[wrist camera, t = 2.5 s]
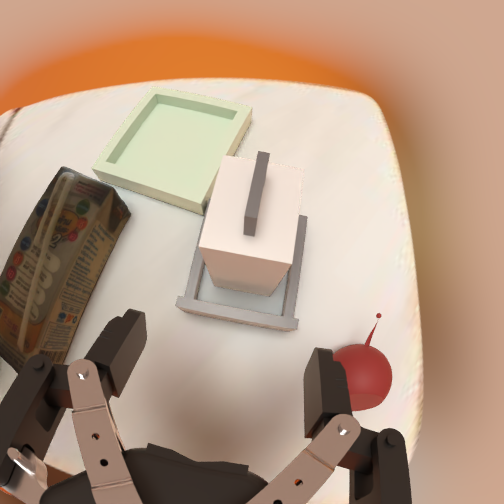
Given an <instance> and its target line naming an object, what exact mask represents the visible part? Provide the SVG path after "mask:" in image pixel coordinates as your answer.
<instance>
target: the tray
mask: <svg viewBox="0 0 504 504" xmlns="http://www.w3.org/2000/svg"><path fill="white" fill-rule="evenodd" d="M251 117H252V107H249V106H245V105H242V104H238V103H234V102H230V101H226V100H221V99H217V98H213V97H208V96H203V95H199V94H194V93H189V92H183V91H178V90H172V89H166V88H160V87H152V88H151V89H150V90H149V91H148V92H147V94H146V95H145V96H144V97H143V98H142V100H141V101H140V102H139V103H138V104H137V106H136V107H135V108H134V109H133V111H132V112H131V113H130V115H129V116H128V117H127V118H126V120H125V121H124V122H123V124H122V125H121V126H120V128H119V129H118V130H117V132H116V133H115V135H114V136H113V137H112V139H111V140H110V142H109V143H108V144H107V146H106V147H105V149H104V150H103V152H102V153H101V155H100V156H99V158H98V159H97V161H96V162H95V164H94V165H93V167H92V170H93V171H94V172H95V174H96V175H97V176H98V178H99V179H100V180H101V181H104V182H107V183H110V184H113V185H116V186H119V187H122V188H125V189H128V190H131V191H134V192H137V193H140V194H143V195H146V196H149V197H151V198H154V199H157V200H160V201H163V202H166V203H169V204H172V205H175V206H177V207H180V208H183V209H186V210H189V211H192V212H195V213H197V214H200V215H203V216H204V214H205V212H206V208H207V204H208V201H209V198H210V199H211V197H212V193H213V189H214V186H215V182H216V179H217V175H218V172H219V168H220V165H221V161H222V158H223V155H227V156H233V155H234V154H235V152H236V150H237V148H238V146H239V144H240V142H241V140H242V138H243V136H244V134H245V133H246V131H247V129H248V127H249V125H250V123H251Z"/></svg>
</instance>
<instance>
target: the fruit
mask: <svg viewBox="0 0 504 504" xmlns="http://www.w3.org/2000/svg"><path fill="white" fill-rule="evenodd" d="M376 317H377V318H381V314H380V313H378V314H377V315H376ZM377 322H378V321H377ZM376 325H377V323H376ZM376 325H375V327H376ZM375 327H374V328H373V330H372V332H371V333H370V335H369V337H368V338H367V340H366V343H365V345H364V344H355V345H350V346H346V347H344V348H342V349H340V350H338V351H337V352H335V353H334V354H333V361H340V362H341V364H342V365H343V367H344V369H345V370H346V376H347V383H348V389H349V395H350V402H351V409H352V411H361V410H366V409H370V408H373V407H376V406H378V405H379V404H381V403H382V402H383V400H384V399H385V398H386V396H387V394H388V393H389V390H390V388H391V384H392V370H391V366H390V364H389V362H388V360H387V358H386V357H385V356H384V354H383V353H381V352H380V351H379V350H378V349H376V348H374V347H372V346H369V344H370V341H371V338H372V335H373V332H374V330H375Z"/></svg>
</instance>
